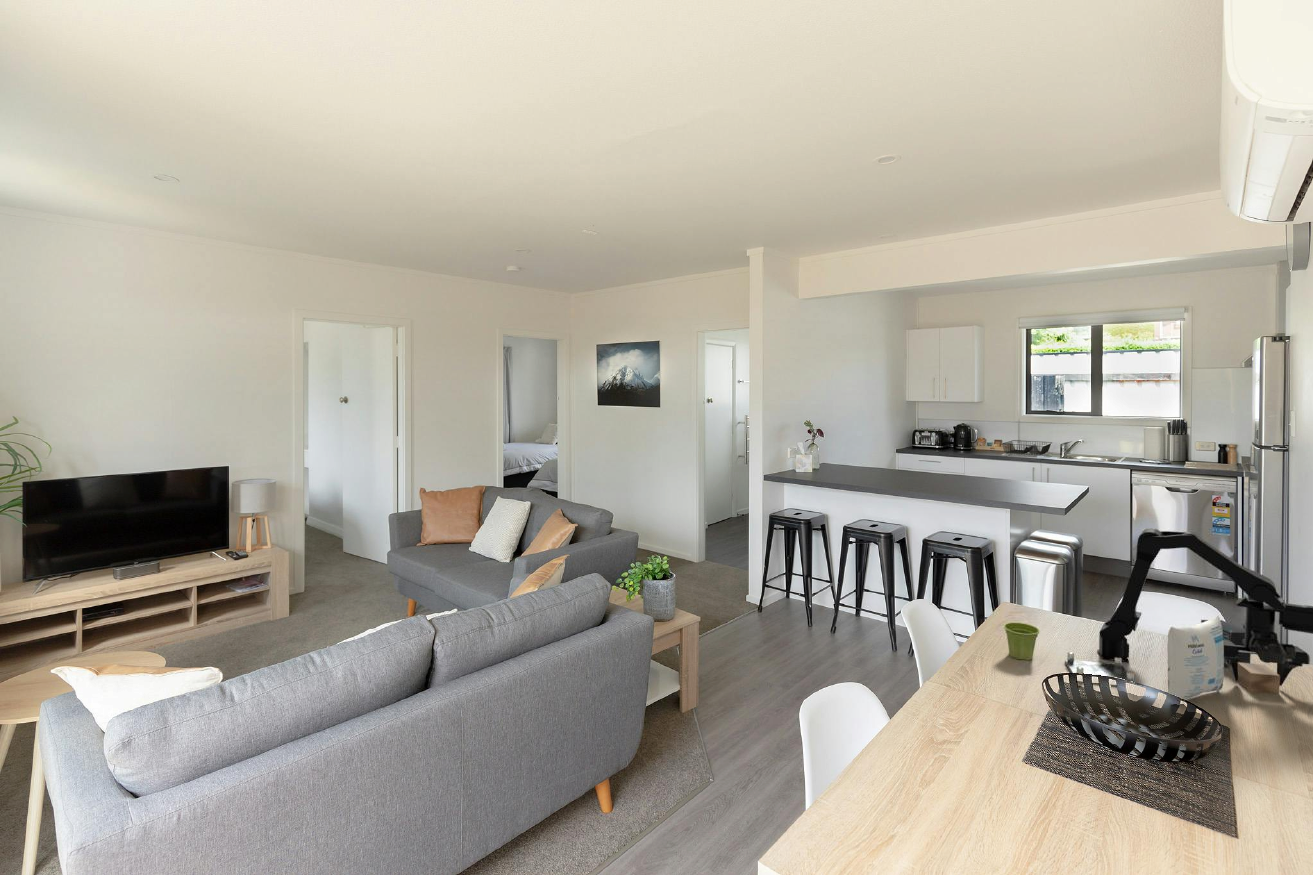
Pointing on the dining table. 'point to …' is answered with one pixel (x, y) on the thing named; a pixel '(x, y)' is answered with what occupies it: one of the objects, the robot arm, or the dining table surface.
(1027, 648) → the plant pot
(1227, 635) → the small box
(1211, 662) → the pouch
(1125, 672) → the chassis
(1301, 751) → the dining table surface
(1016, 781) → the dining table surface
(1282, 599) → the robot arm
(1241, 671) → the brown block
